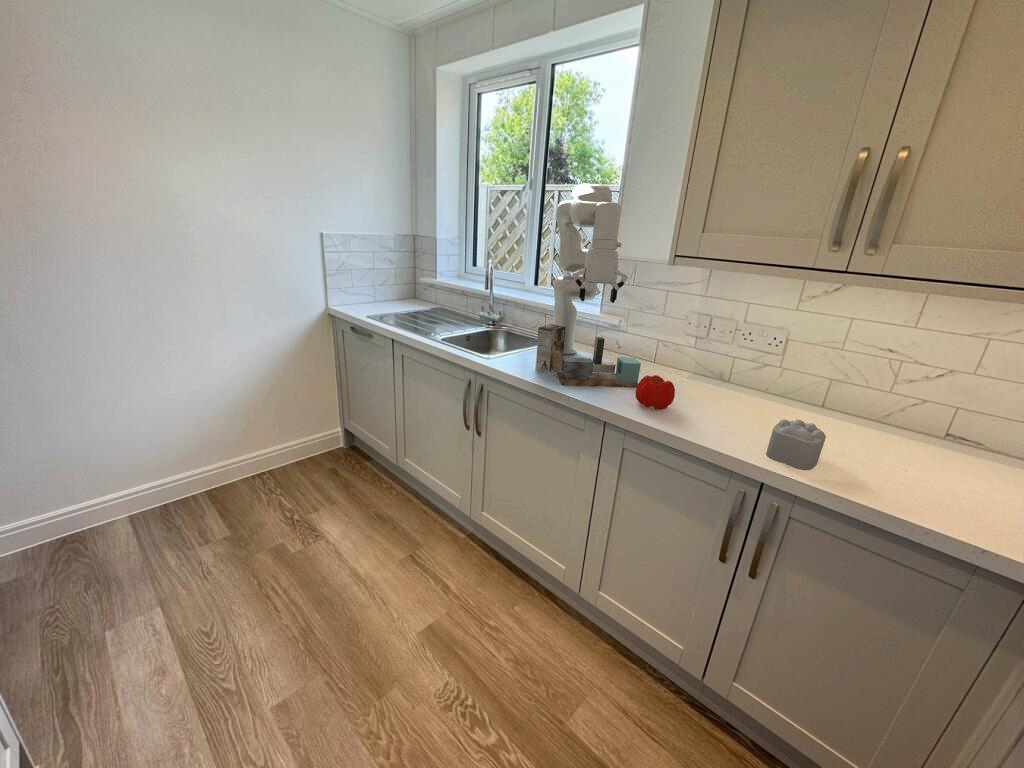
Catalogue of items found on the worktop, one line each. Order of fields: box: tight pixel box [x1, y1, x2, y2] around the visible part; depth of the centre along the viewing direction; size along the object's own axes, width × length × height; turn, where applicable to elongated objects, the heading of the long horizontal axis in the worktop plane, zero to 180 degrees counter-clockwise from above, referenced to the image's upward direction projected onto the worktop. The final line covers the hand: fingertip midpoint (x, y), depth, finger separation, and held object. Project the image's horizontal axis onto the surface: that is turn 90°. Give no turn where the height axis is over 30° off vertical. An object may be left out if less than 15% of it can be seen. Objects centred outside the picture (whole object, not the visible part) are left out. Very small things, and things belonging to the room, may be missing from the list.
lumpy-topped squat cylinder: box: [765, 418, 827, 471], centre depth 109 cm, size 10×13×9 cm
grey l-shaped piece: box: [592, 336, 617, 374], centre depth 154 cm, size 16×3×12 cm, turn 93°
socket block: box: [614, 356, 641, 383], centre depth 156 cm, size 6×7×7 cm
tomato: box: [635, 374, 676, 411], centre depth 136 cm, size 11×12×9 cm
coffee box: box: [535, 323, 566, 374], centre depth 165 cm, size 9×6×16 cm
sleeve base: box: [556, 356, 639, 389], centre depth 156 cm, size 27×12×7 cm, turn 93°
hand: (597, 301), depth 142 cm, fingers open, 9 cm apart
